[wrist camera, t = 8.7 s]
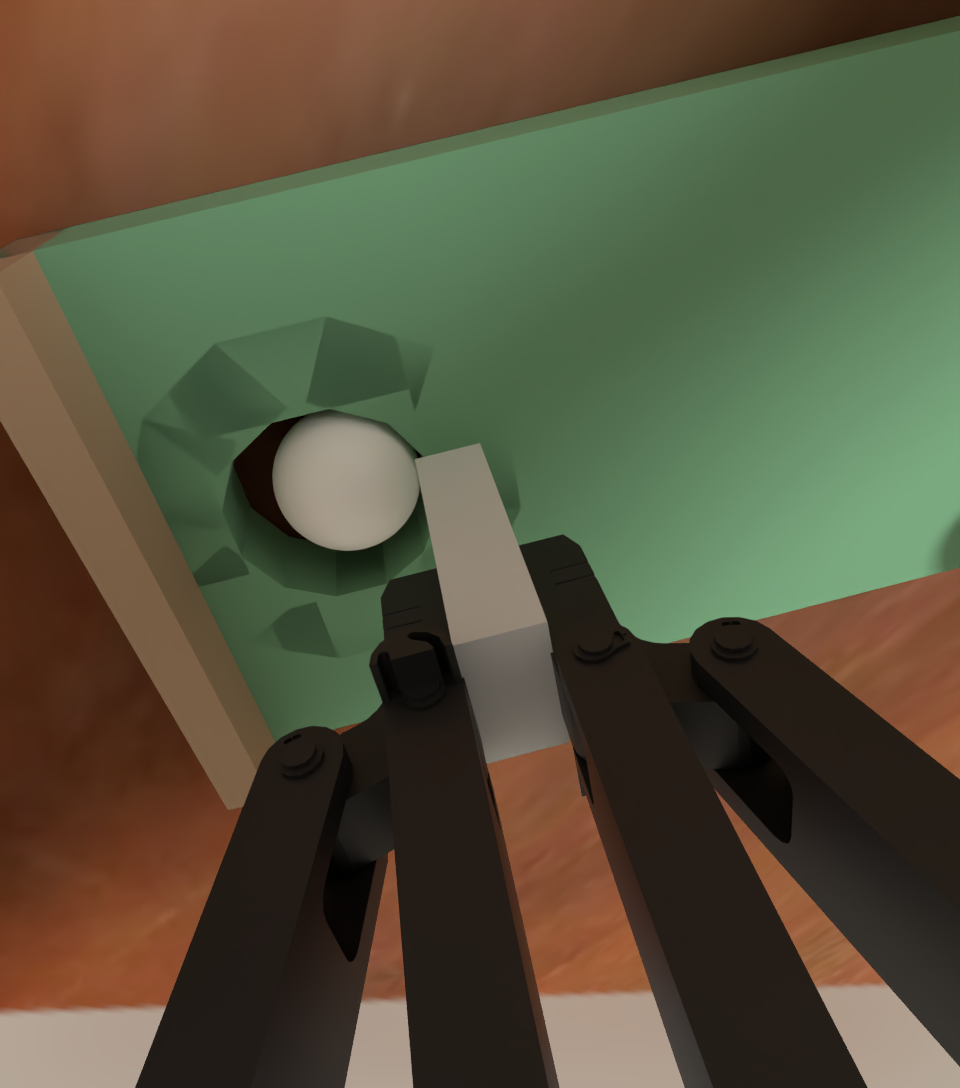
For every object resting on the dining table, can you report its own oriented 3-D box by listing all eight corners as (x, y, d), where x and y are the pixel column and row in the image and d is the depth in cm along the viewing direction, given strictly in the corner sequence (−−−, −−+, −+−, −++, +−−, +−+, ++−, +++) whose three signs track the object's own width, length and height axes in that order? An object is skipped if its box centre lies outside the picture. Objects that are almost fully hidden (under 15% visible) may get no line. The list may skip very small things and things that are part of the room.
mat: (15, 240, 17) (-75, 292, 13) (1225, -48, 18) (1465, -76, 14) (244, 695, 25) (227, 810, 21) (1082, 480, 25) (1213, 554, 22)
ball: (396, 372, 20) (303, 446, 22) (318, 376, 17) (215, 462, 18) (469, 492, 20) (370, 556, 22) (404, 519, 17) (294, 592, 18)
